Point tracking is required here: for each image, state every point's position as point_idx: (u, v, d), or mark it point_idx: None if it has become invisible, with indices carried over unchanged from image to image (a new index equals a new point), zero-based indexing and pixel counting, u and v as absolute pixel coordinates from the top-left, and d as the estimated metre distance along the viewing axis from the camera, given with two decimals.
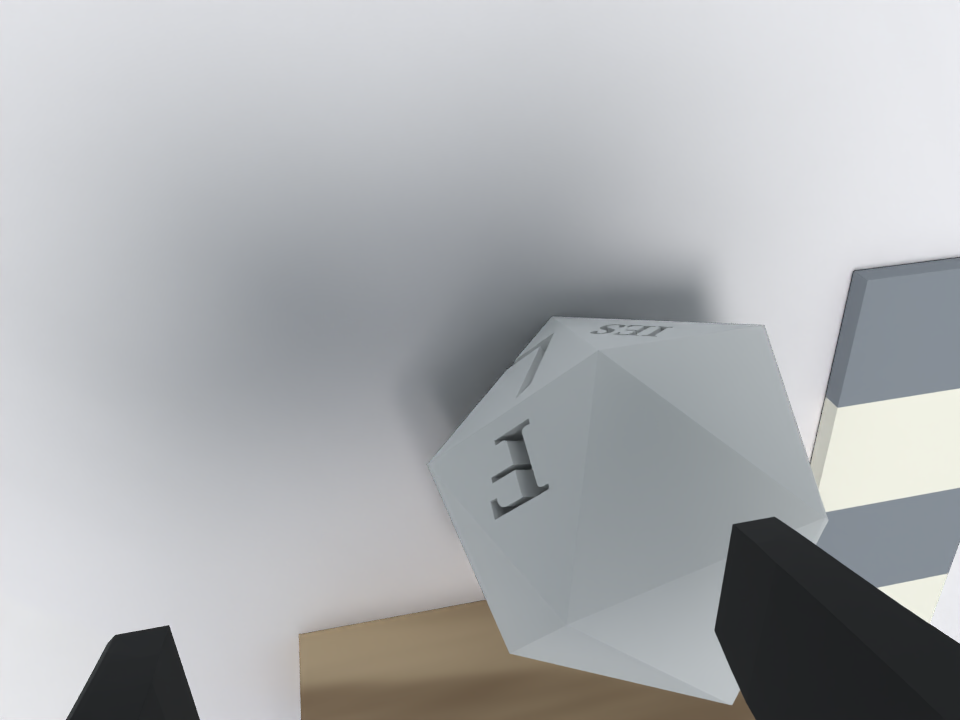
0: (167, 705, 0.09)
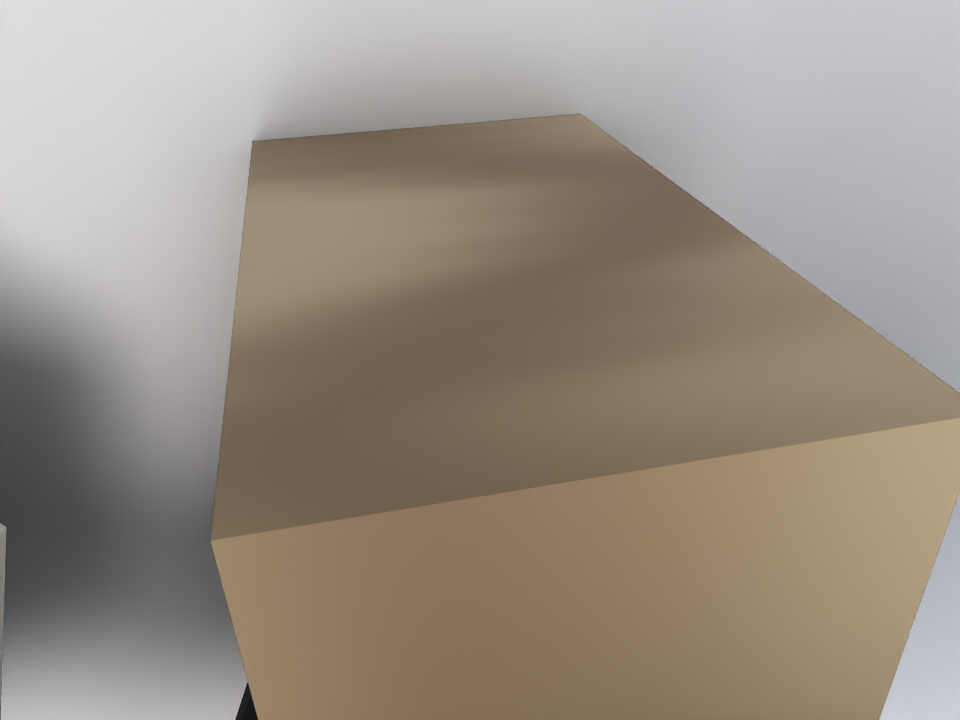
0: None
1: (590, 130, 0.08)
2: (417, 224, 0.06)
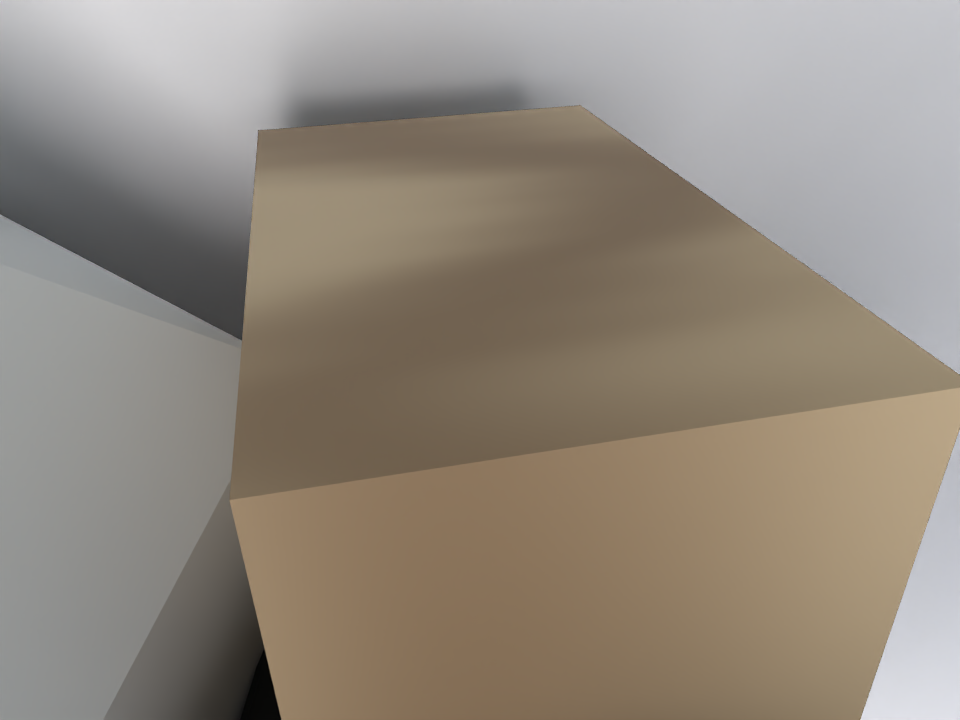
0: None
1: (591, 121, 0.08)
2: (422, 209, 0.06)
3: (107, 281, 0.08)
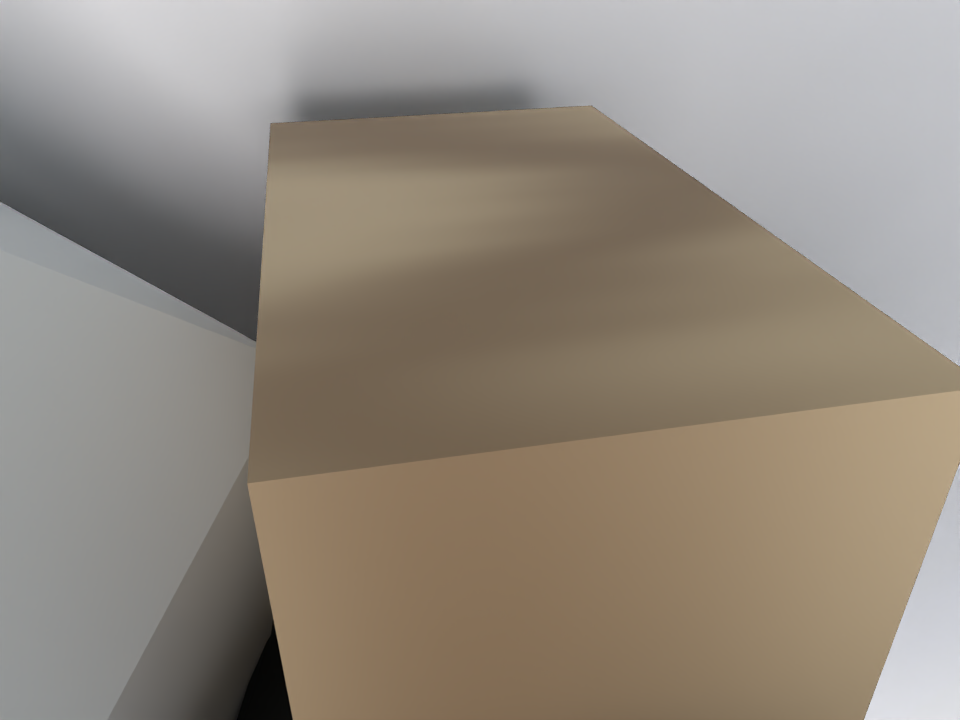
0: None
1: (602, 121, 0.08)
2: (435, 204, 0.06)
3: (115, 275, 0.08)
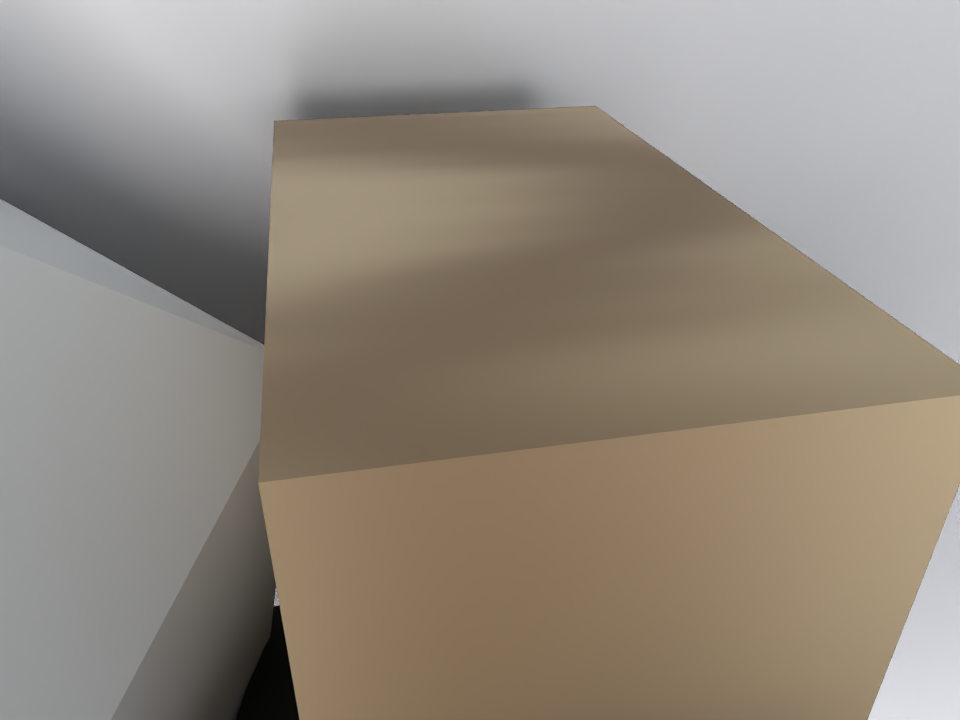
0: None
1: (606, 122, 0.08)
2: (442, 202, 0.06)
3: (117, 273, 0.08)
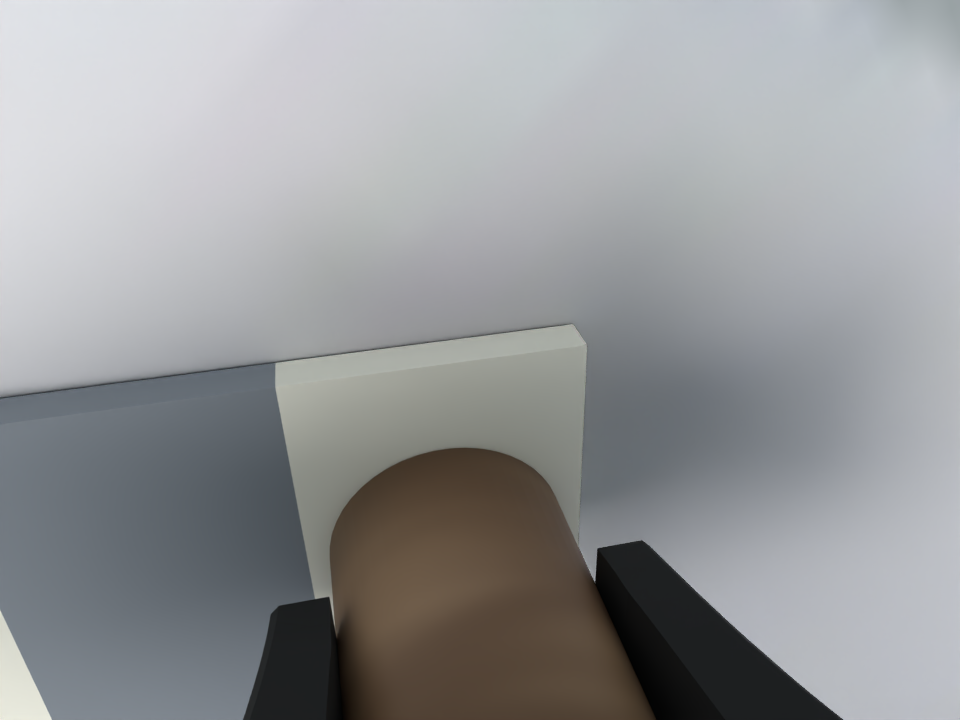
0: (337, 672, 0.09)
1: None
2: None
3: None
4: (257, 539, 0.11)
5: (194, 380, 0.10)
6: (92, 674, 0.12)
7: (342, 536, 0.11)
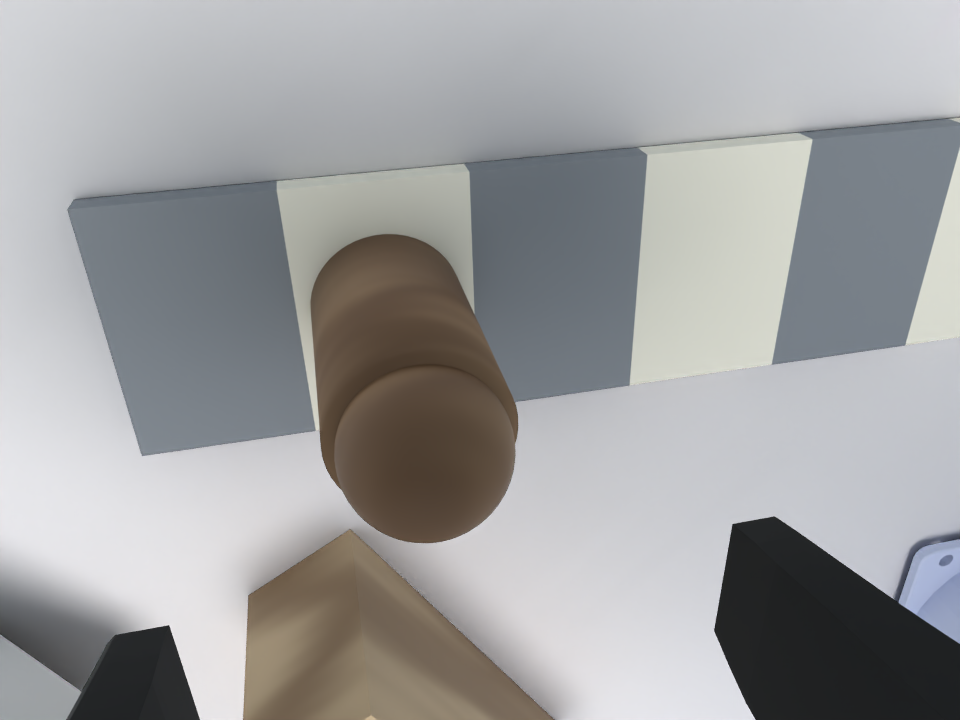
0: (167, 705, 0.09)
1: (348, 545, 0.21)
2: (286, 648, 0.20)
3: (42, 687, 0.19)
4: (918, 221, 0.20)
5: (917, 123, 0.19)
6: (808, 305, 0.21)
7: (317, 286, 0.17)
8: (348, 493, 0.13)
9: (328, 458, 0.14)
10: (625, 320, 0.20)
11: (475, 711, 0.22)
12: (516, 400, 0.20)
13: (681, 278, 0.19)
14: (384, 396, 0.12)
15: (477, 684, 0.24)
